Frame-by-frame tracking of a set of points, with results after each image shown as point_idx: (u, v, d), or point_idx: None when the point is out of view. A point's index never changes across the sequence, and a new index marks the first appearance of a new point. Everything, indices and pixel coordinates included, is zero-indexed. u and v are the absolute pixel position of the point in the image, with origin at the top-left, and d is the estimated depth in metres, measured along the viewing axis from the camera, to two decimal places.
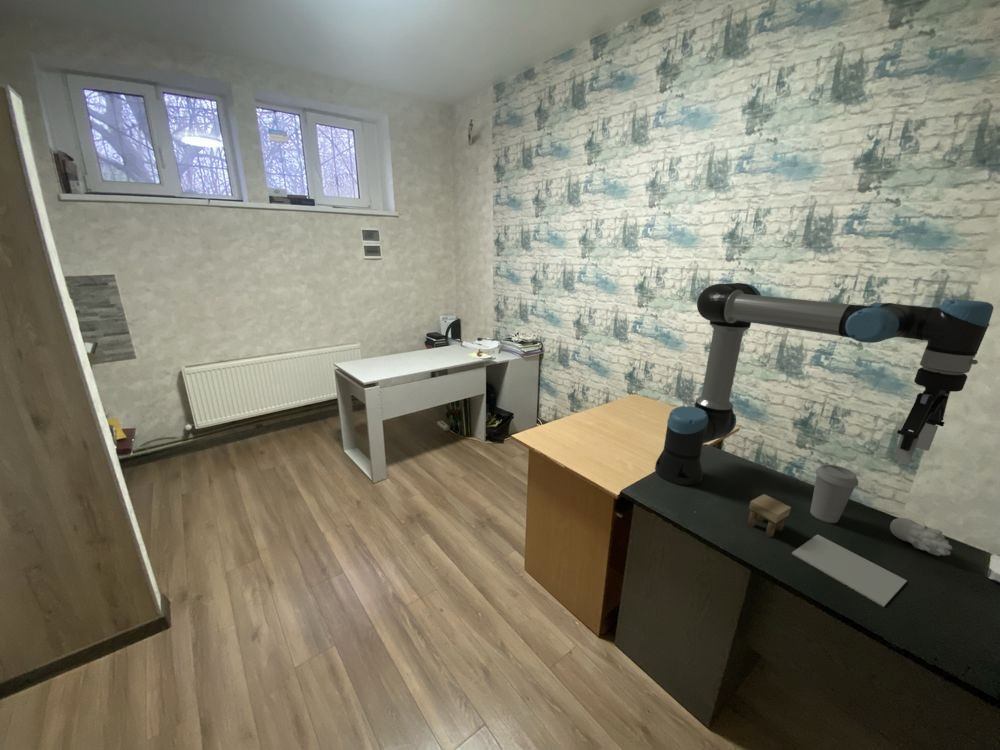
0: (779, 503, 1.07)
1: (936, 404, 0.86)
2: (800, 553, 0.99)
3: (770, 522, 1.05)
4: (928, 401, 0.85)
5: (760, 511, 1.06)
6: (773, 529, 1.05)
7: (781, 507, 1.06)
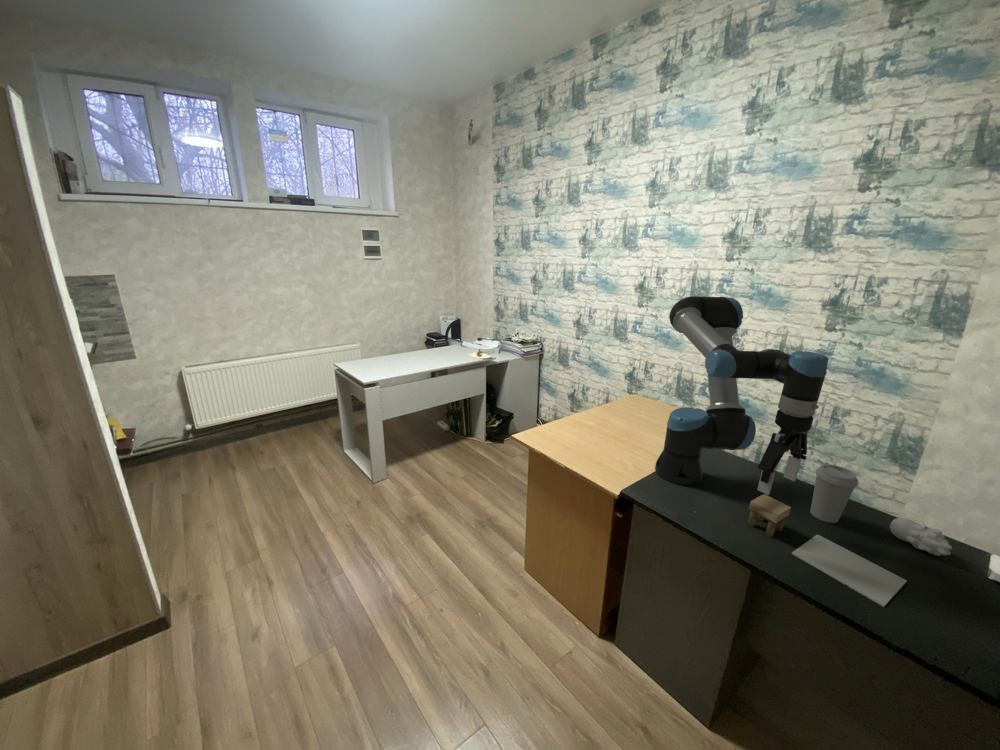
0: (779, 503, 1.07)
1: (789, 442, 0.98)
2: (800, 553, 0.99)
3: (770, 522, 1.05)
4: (779, 440, 0.96)
5: (760, 511, 1.06)
6: (773, 529, 1.05)
7: (781, 507, 1.06)
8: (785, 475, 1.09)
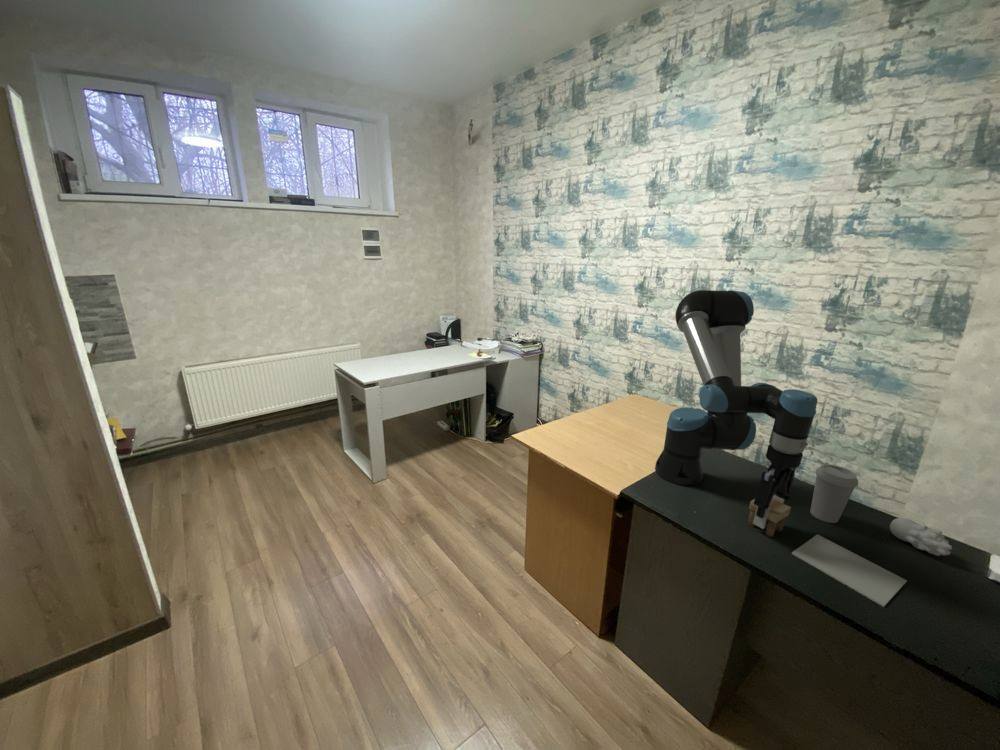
0: (779, 503, 1.07)
1: (779, 478, 1.02)
2: (800, 553, 0.99)
3: (770, 522, 1.05)
4: (769, 480, 1.00)
5: None
6: (773, 529, 1.05)
7: (781, 507, 1.06)
8: None
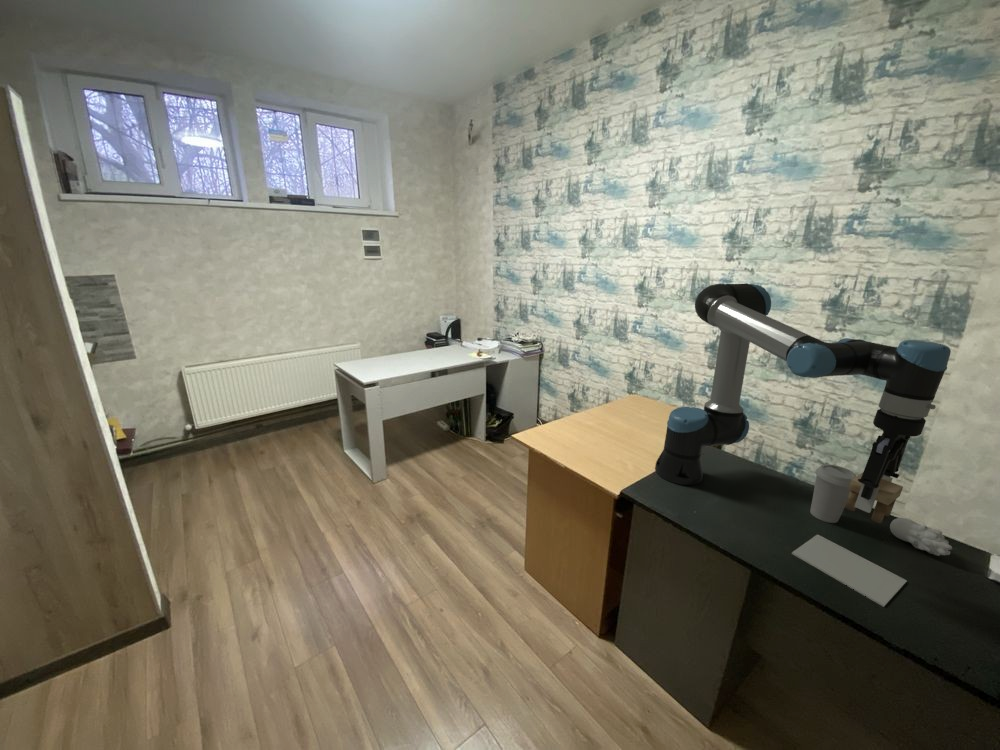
0: (887, 482, 0.89)
1: (894, 450, 0.83)
2: (800, 553, 0.99)
3: (879, 504, 0.86)
4: (883, 452, 0.81)
5: None
6: (883, 513, 0.86)
7: (891, 486, 0.87)
8: None
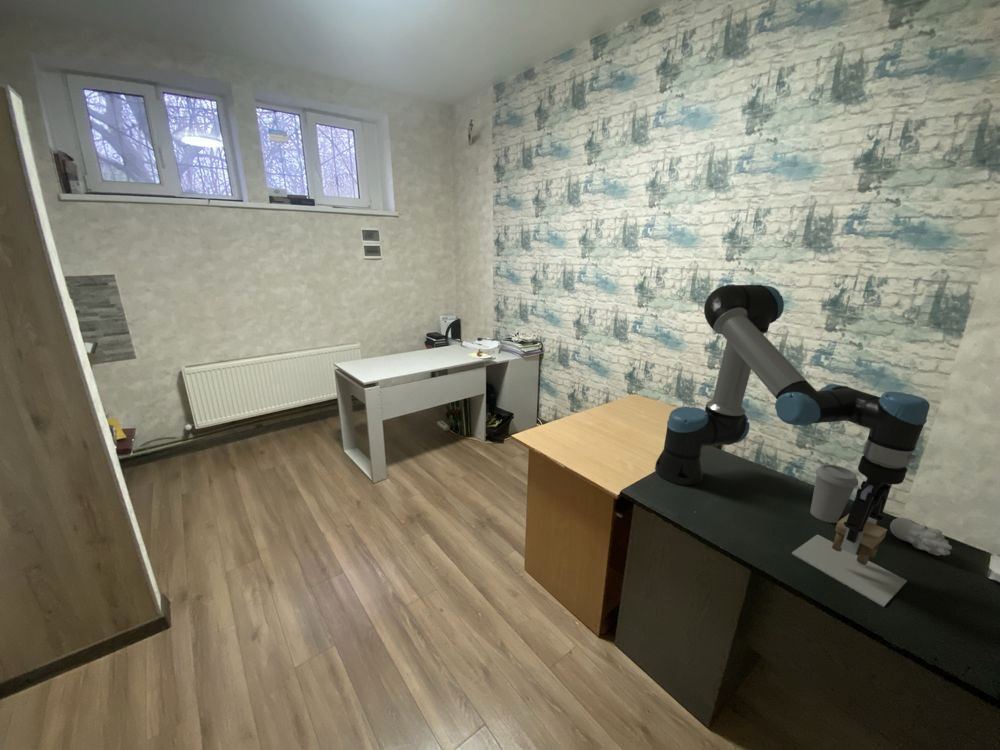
0: (872, 524, 0.92)
1: (877, 496, 0.87)
2: (800, 553, 0.99)
3: (864, 547, 0.89)
4: (867, 499, 0.85)
5: None
6: (868, 556, 0.89)
7: (876, 529, 0.90)
8: None
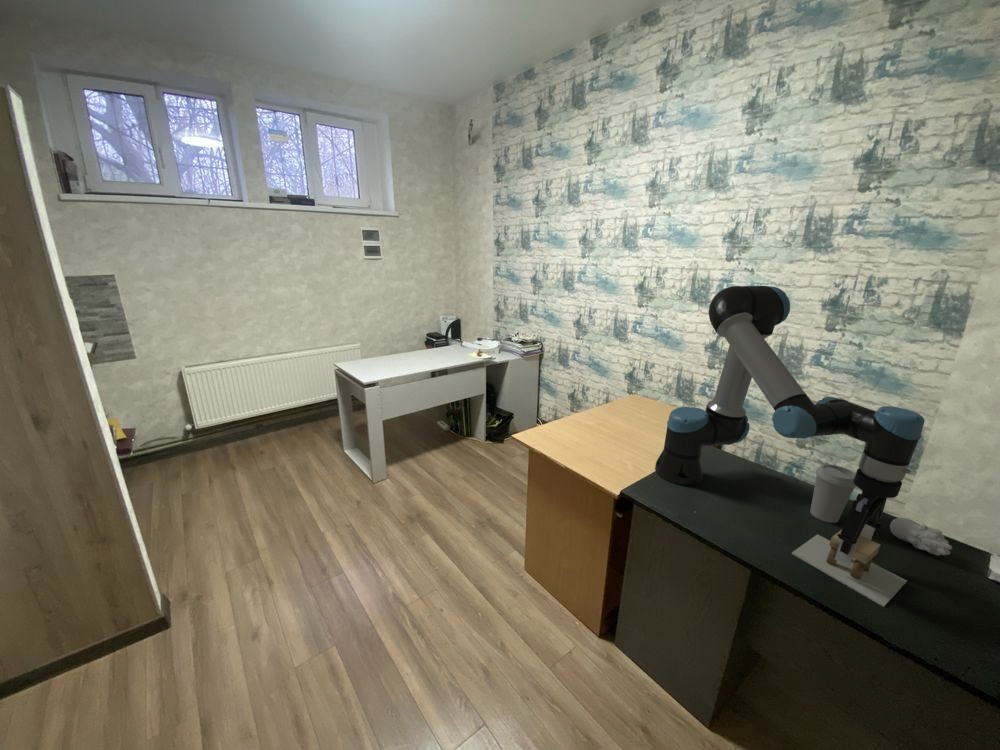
0: (865, 539, 0.93)
1: (872, 509, 0.88)
2: (800, 553, 0.99)
3: (858, 562, 0.91)
4: (862, 510, 0.86)
5: None
6: (861, 571, 0.91)
7: (869, 545, 0.92)
8: None
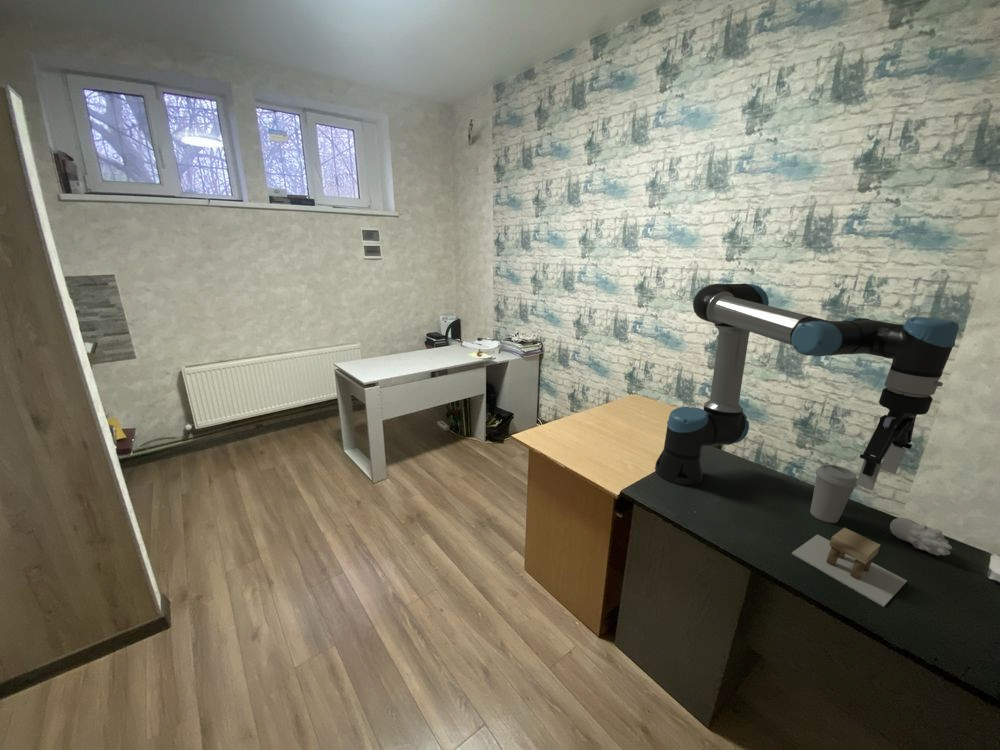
0: (865, 539, 0.93)
1: (900, 427, 0.82)
2: (800, 553, 0.99)
3: (858, 562, 0.91)
4: (891, 425, 0.80)
5: (844, 549, 0.92)
6: (861, 571, 0.91)
7: (869, 545, 0.92)
8: (882, 467, 0.92)
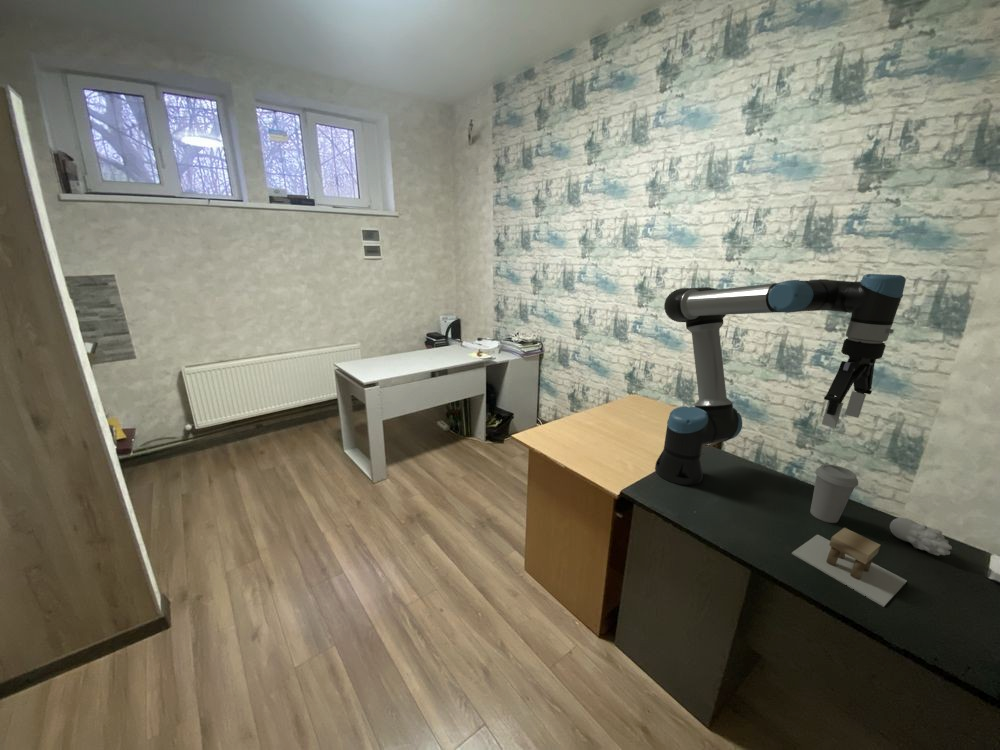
0: (865, 539, 0.93)
1: (858, 371, 0.93)
2: (800, 553, 0.99)
3: (858, 562, 0.91)
4: (849, 368, 0.91)
5: (844, 549, 0.92)
6: (861, 571, 0.91)
7: (869, 545, 0.92)
8: (847, 412, 1.04)
